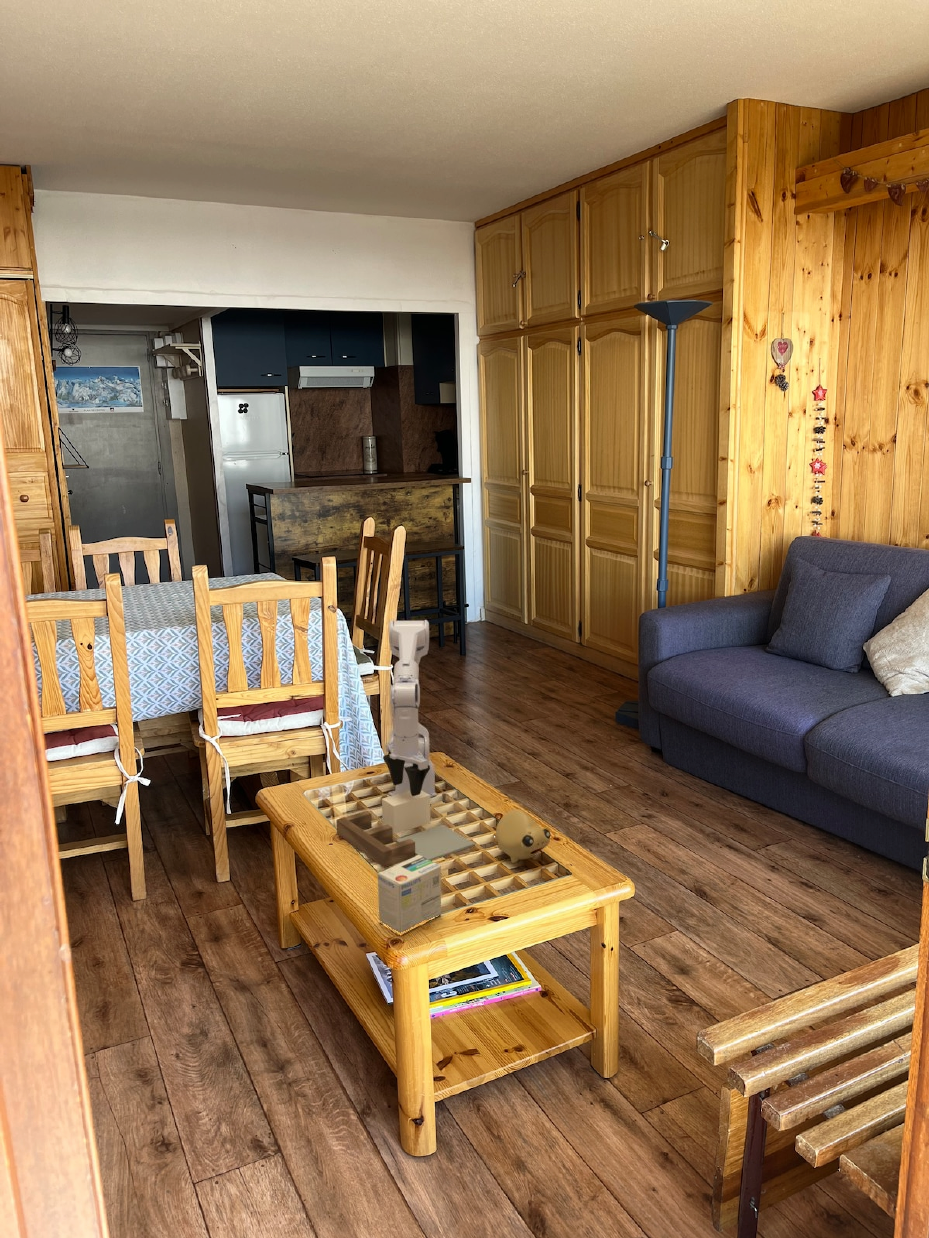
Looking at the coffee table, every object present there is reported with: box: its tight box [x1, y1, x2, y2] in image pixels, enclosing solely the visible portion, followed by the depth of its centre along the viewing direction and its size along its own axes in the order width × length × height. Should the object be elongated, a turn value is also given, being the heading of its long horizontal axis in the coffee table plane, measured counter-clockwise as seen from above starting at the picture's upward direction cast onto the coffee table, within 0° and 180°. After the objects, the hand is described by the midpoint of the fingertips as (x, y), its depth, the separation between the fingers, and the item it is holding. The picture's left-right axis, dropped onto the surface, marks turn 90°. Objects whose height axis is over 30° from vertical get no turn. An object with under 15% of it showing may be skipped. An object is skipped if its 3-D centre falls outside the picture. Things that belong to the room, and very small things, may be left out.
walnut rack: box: [336, 810, 416, 868], centre depth 211 cm, size 8×20×4 cm, turn 37°
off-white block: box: [381, 790, 431, 835], centre depth 221 cm, size 10×5×7 cm, turn 127°
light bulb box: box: [377, 855, 442, 933], centre depth 180 cm, size 11×7×11 cm, turn 134°
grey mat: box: [395, 824, 476, 862], centre depth 212 cm, size 13×12×1 cm
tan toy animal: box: [495, 808, 551, 863], centre depth 204 cm, size 10×12×11 cm
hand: (406, 789), depth 220 cm, fingers open, 7 cm apart
